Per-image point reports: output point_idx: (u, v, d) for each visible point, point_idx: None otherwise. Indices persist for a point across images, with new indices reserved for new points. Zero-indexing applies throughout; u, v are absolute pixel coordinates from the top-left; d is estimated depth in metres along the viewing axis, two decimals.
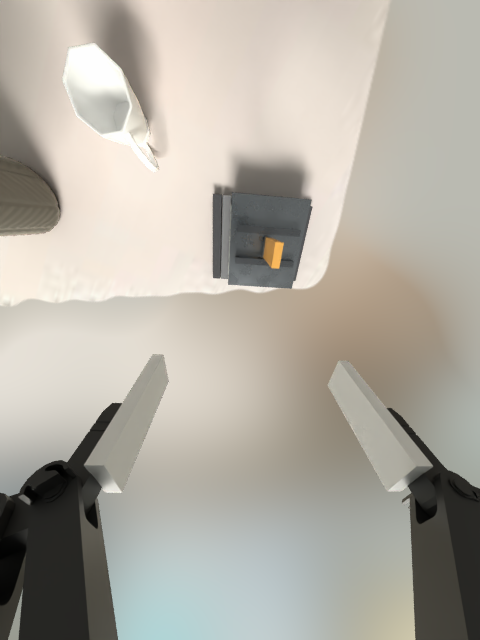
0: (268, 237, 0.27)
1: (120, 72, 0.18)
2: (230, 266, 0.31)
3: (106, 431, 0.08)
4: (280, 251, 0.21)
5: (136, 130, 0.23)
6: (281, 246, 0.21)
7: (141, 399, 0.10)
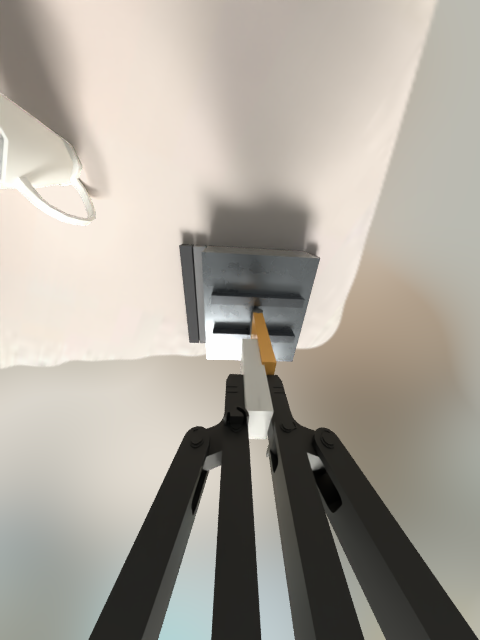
0: (257, 312, 0.19)
1: None
2: (207, 339, 0.23)
3: (246, 390, 0.10)
4: (271, 372, 0.13)
5: (41, 171, 0.14)
6: (272, 366, 0.12)
7: None
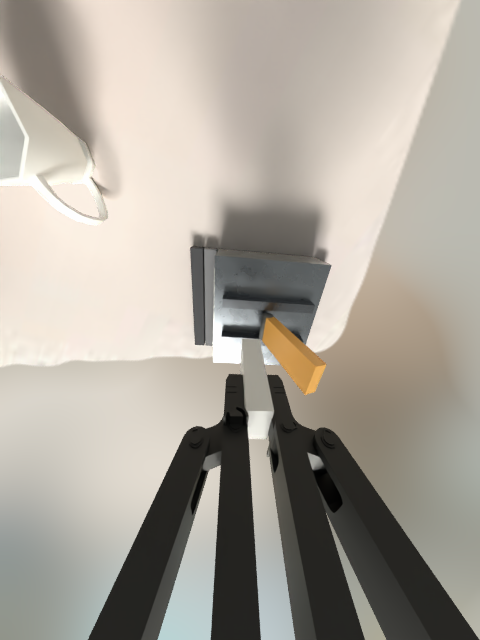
0: (269, 316, 0.19)
1: None
2: (215, 342, 0.23)
3: (246, 390, 0.10)
4: (320, 374, 0.13)
5: (57, 169, 0.14)
6: (322, 369, 0.13)
7: None
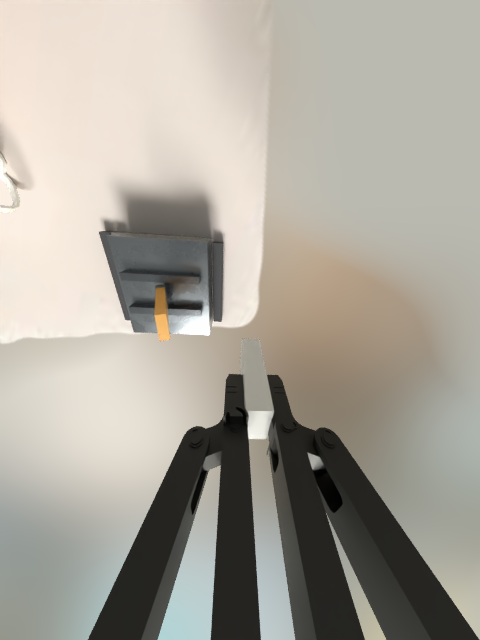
0: (159, 287, 0.23)
1: None
2: (130, 314, 0.26)
3: (246, 390, 0.10)
4: (165, 323, 0.17)
5: None
6: (164, 318, 0.17)
7: None
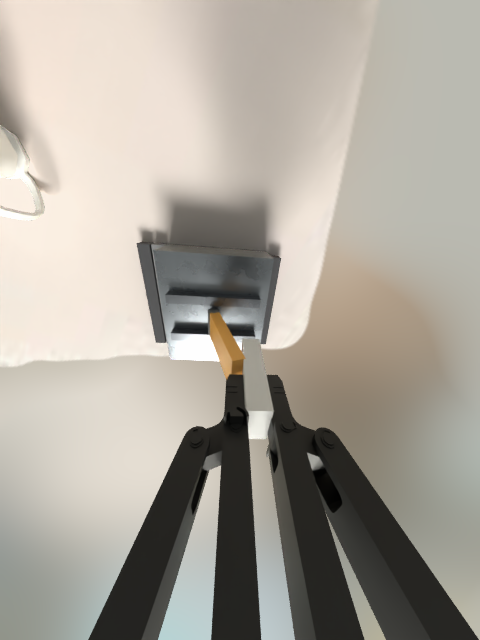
0: (213, 311, 0.19)
1: None
2: (169, 339, 0.22)
3: (246, 390, 0.10)
4: (241, 368, 0.13)
5: None
6: (242, 363, 0.13)
7: None
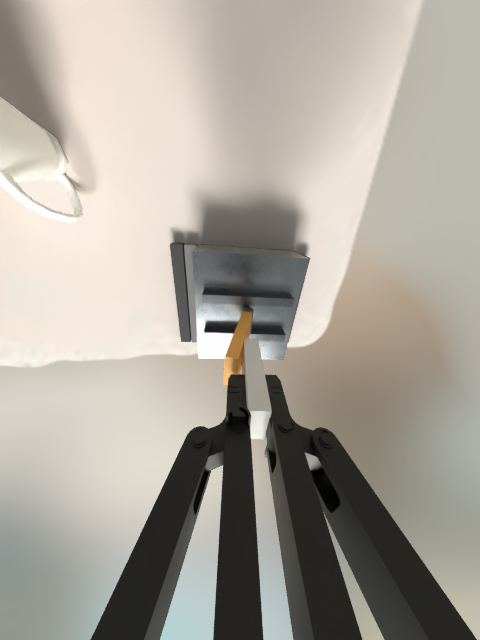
0: (247, 311, 0.19)
1: None
2: (199, 338, 0.23)
3: (248, 390, 0.10)
4: (234, 368, 0.13)
5: (24, 164, 0.14)
6: (235, 362, 0.13)
7: None
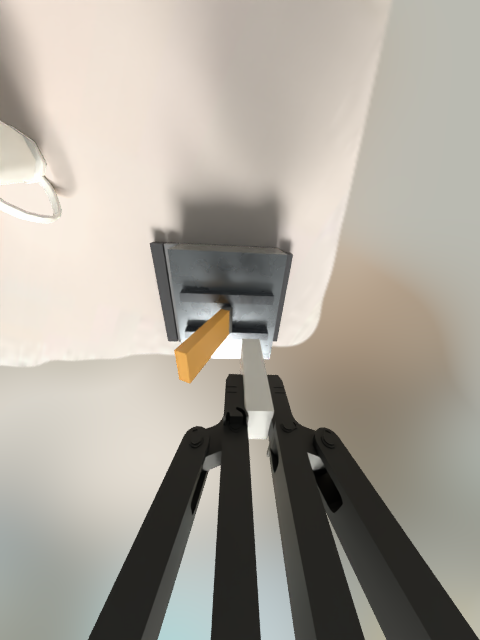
0: (225, 309, 0.19)
1: None
2: (182, 337, 0.23)
3: (246, 390, 0.10)
4: (185, 363, 0.13)
5: None
6: (184, 357, 0.13)
7: None
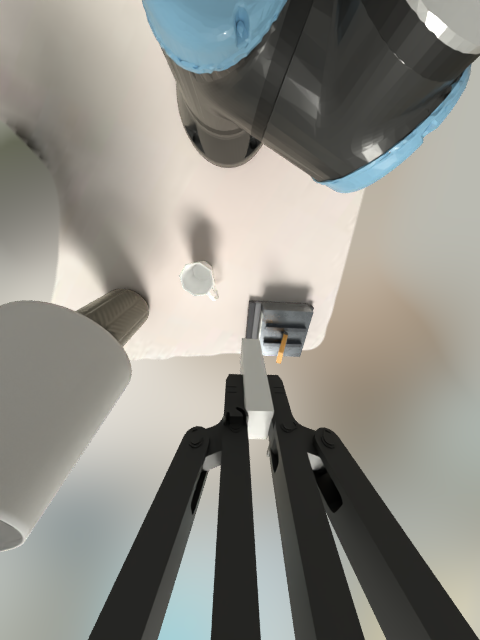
0: (285, 334, 0.43)
1: (210, 271, 0.34)
2: None
3: (246, 390, 0.10)
4: (281, 356, 0.37)
5: None
6: (281, 354, 0.37)
7: None
